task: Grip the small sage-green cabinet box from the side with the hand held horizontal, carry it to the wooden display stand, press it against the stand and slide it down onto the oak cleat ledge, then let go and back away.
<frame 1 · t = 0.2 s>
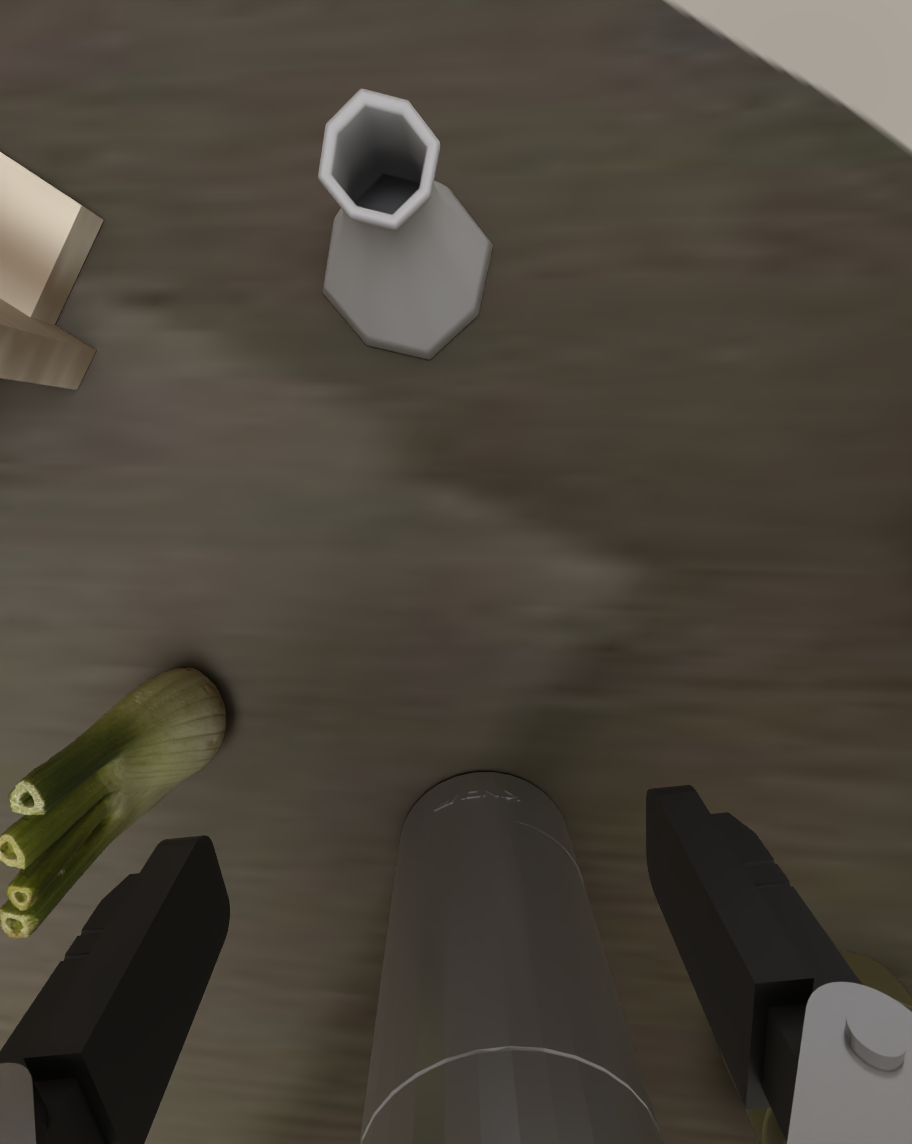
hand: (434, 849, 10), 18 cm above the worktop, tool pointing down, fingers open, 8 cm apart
flask: (407, 272, 25), on the worktop
piston: (810, 1025, 34), on the worktop
fennel bulb: (192, 706, 29), on the worktop
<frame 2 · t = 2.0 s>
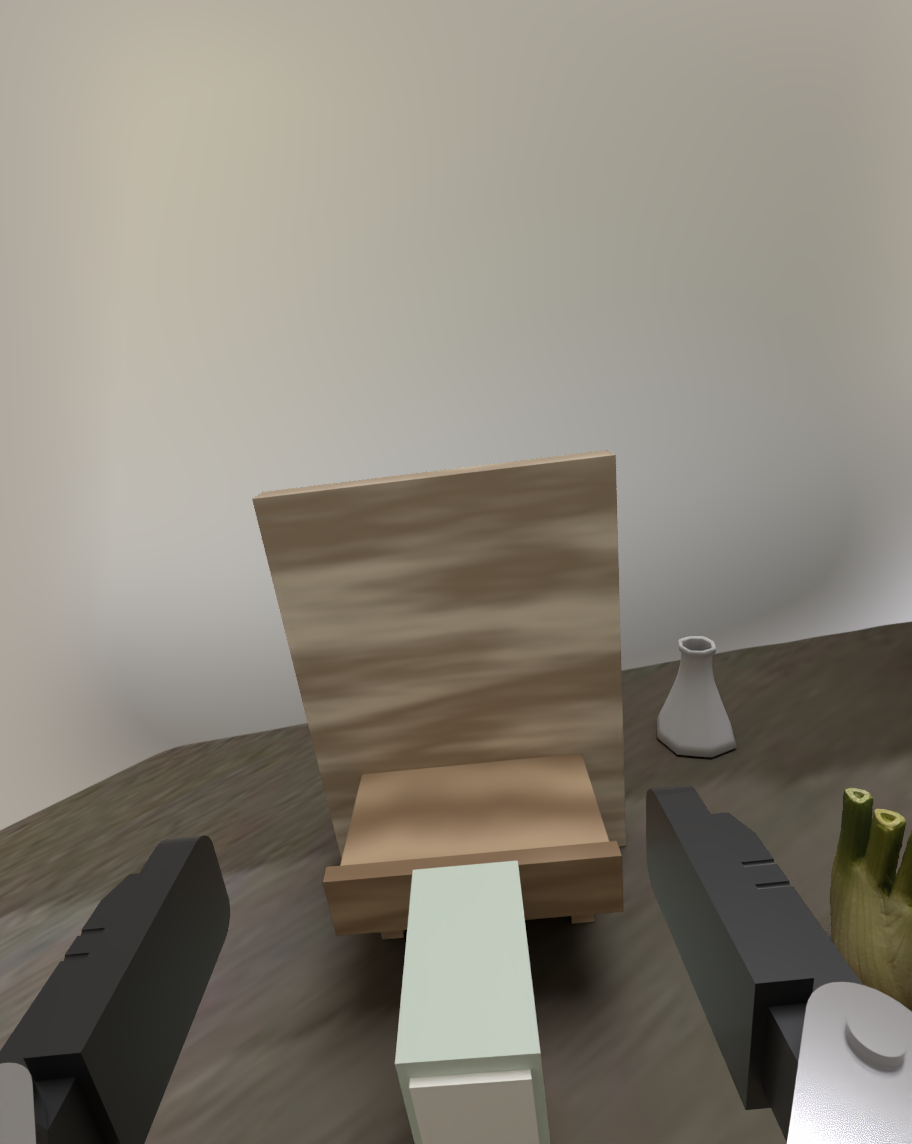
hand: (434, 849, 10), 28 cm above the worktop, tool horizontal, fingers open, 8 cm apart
flask: (694, 737, 55), on the worktop
wooden display stand: (483, 858, 44), on the worktop
fennel bulb: (879, 985, 33), on the worktop
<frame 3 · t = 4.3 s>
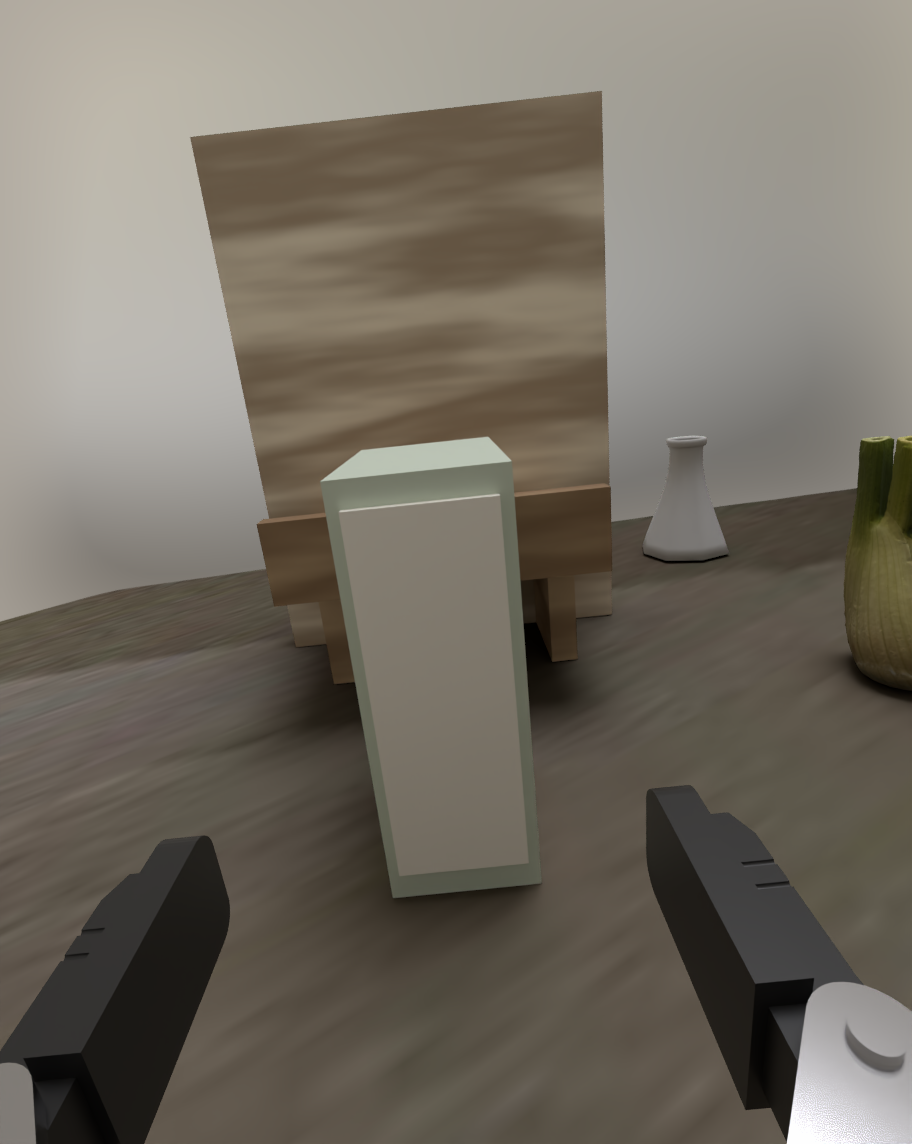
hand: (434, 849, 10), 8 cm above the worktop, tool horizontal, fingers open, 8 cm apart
flask: (683, 553, 51), on the worktop
cabinet: (462, 807, 23), on the worktop
wooden display stand: (453, 630, 39), on the worktop
fennel bulb: (902, 679, 29), on the worktop
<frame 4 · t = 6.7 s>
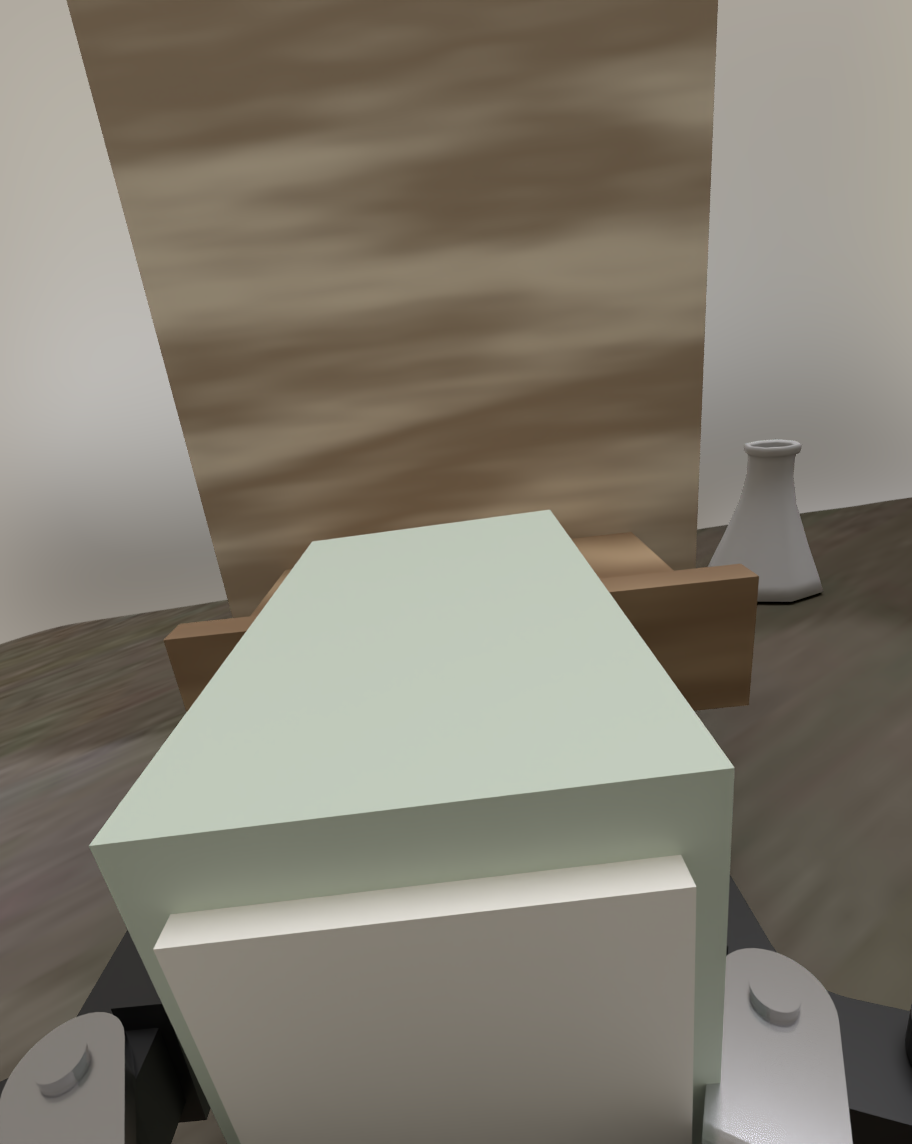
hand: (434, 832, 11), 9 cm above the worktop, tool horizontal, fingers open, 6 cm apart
flask: (759, 588, 41), on the worktop
wooden display stand: (476, 716, 29), on the worktop
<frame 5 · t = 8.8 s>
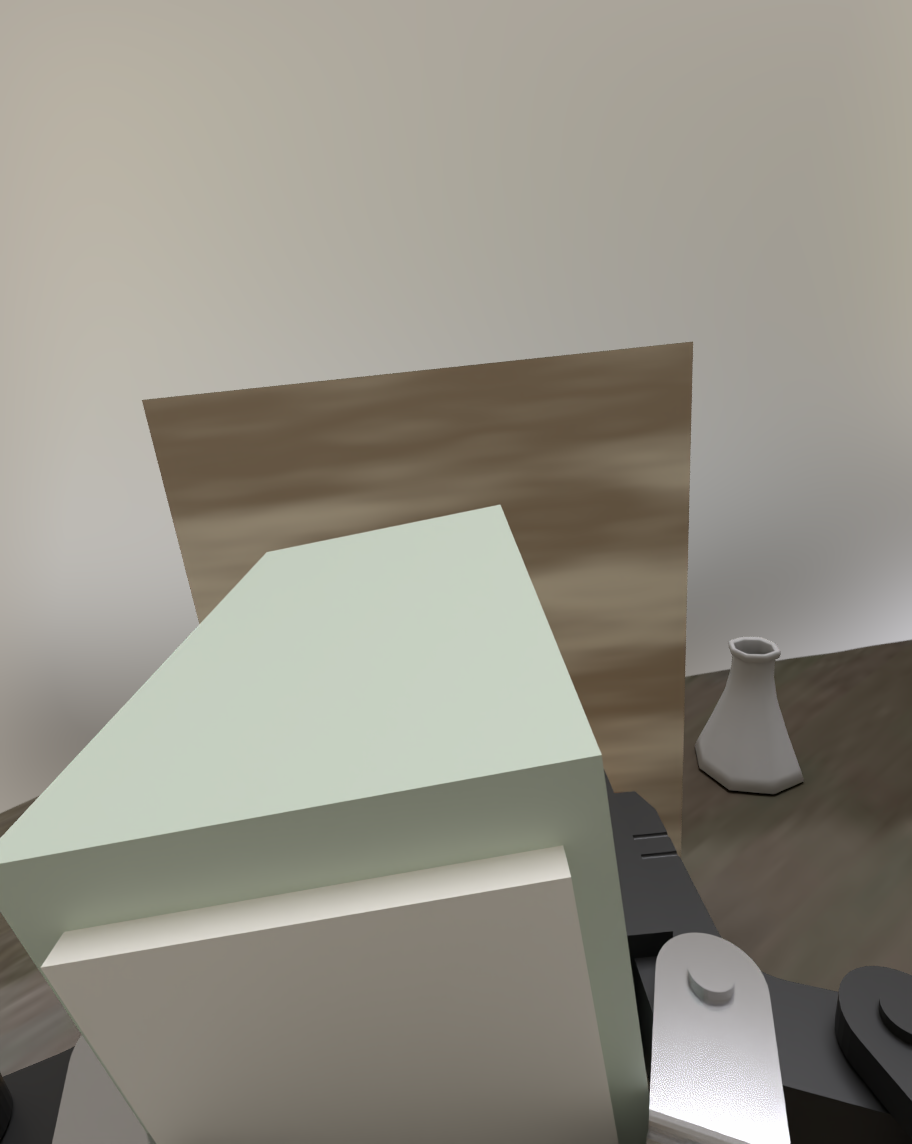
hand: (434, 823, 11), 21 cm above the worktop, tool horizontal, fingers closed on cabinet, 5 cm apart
flask: (745, 767, 43), on the worktop
wooden display stand: (481, 939, 32), on the worktop
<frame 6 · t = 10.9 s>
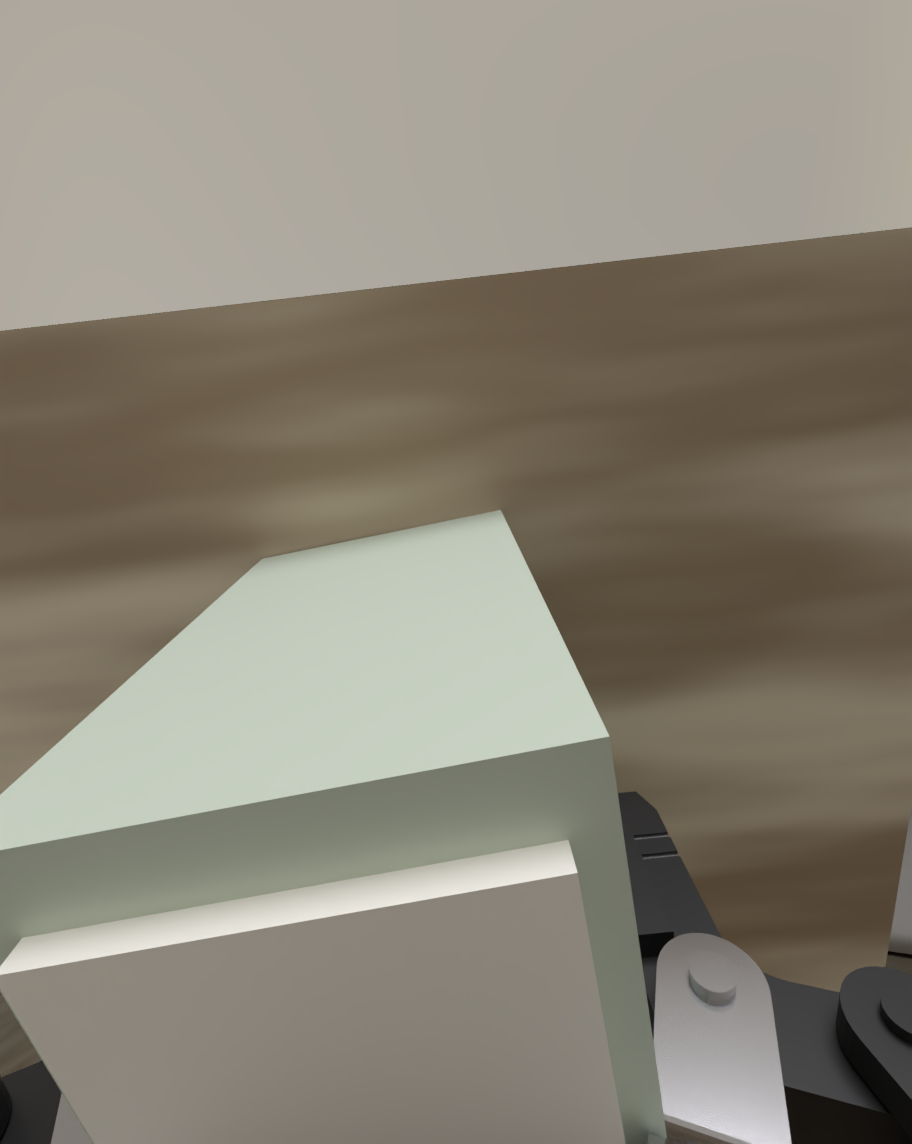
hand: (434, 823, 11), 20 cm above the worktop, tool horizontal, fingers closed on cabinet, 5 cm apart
flask: (876, 901, 31), on the worktop
when the fingers open (18 cm above the worktop, at t = 11.7 s): cabinet stays where it is, resting on wooden display stand.
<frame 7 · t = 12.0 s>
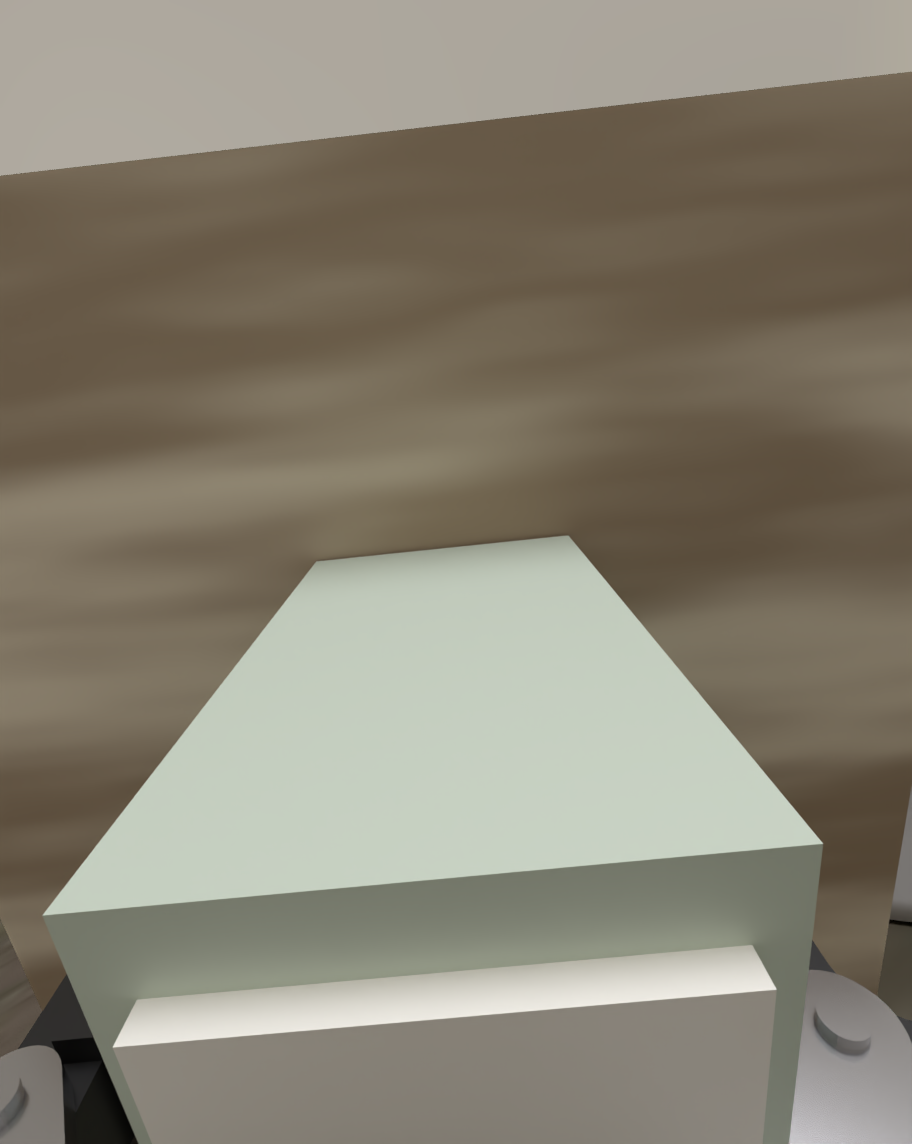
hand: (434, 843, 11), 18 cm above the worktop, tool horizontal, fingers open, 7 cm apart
flask: (874, 871, 30), on the worktop
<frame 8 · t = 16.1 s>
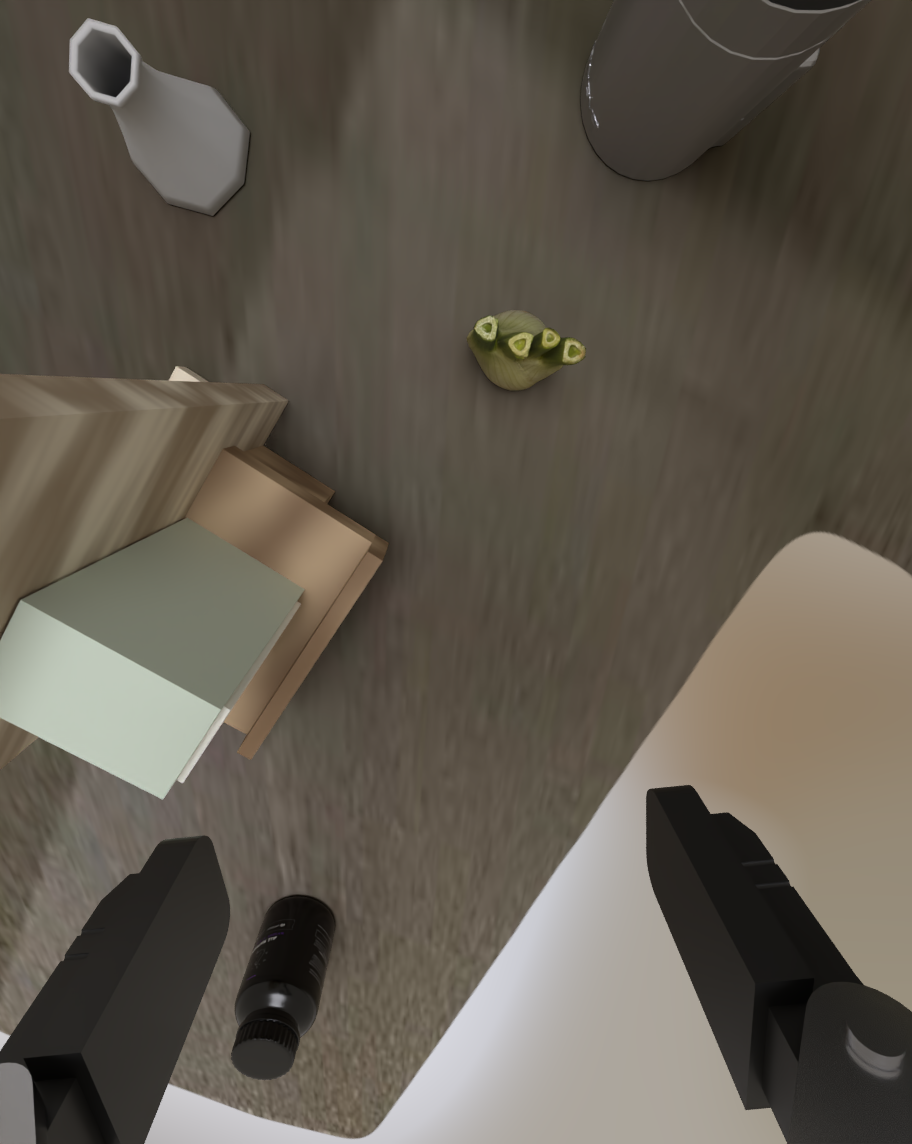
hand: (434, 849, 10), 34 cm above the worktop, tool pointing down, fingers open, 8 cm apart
flask: (194, 150, 36), on the worktop
cabinet: (227, 586, 35), point 9 cm above the worktop, touching wooden display stand
wooden display stand: (217, 526, 43), on the worktop
fennel bulb: (510, 352, 40), on the worktop
supplement bottle: (300, 918, 55), on the worktop
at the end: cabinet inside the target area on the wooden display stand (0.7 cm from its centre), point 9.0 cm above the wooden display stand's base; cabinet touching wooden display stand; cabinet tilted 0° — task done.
